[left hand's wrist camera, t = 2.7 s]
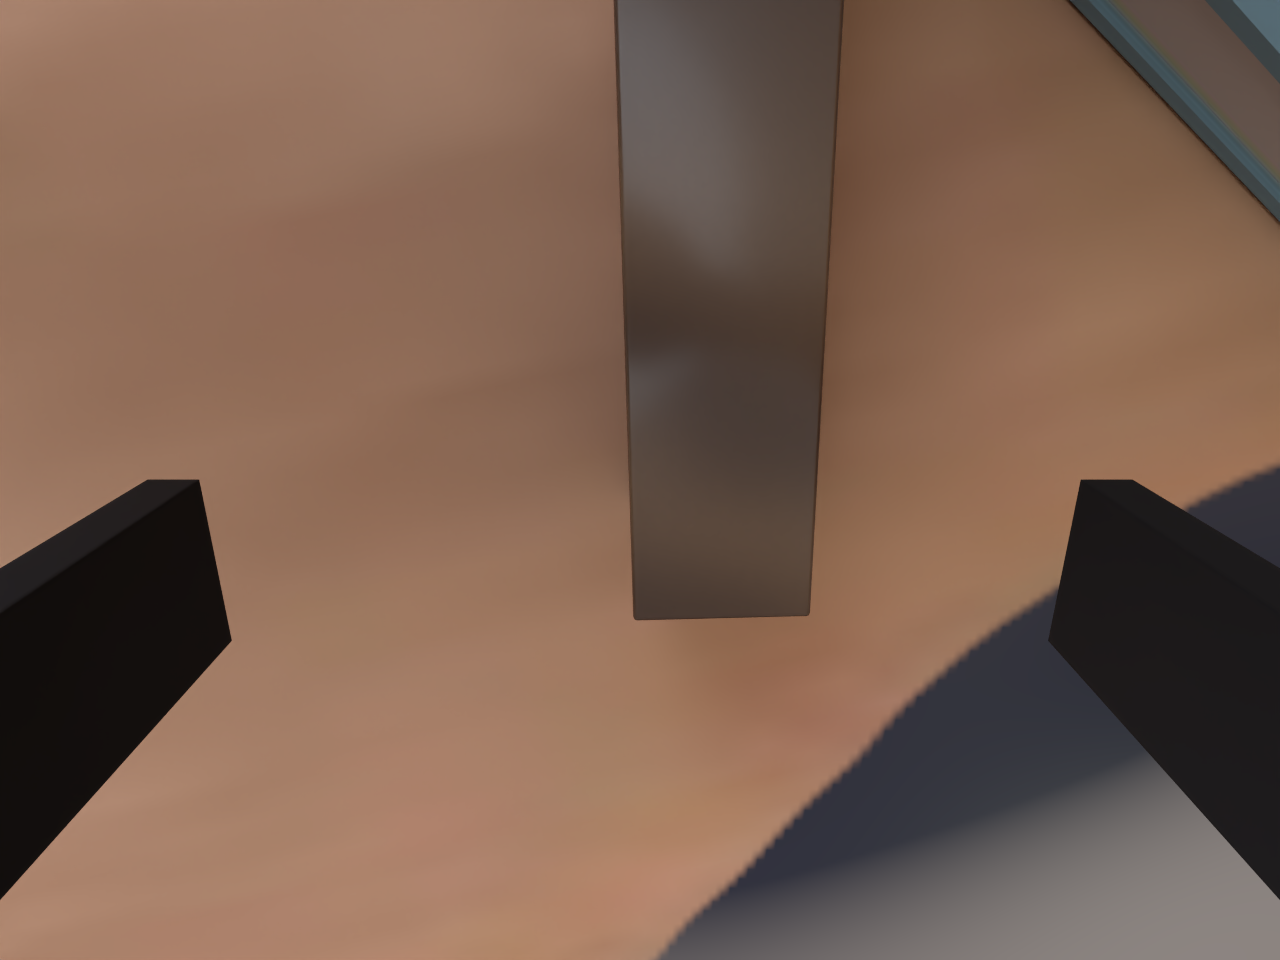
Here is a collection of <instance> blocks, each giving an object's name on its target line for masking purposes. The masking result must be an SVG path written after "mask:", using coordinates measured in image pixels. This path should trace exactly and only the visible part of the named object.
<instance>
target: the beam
mask: <svg viewBox="0 0 1280 960" xmlns="http://www.w3.org/2000/svg"><path fill="white" fill-rule="evenodd" d="M843 7H844V0H614V24H615V55H616V87H617V118H618V149H619V181H620V212H621V243H622V275H623V306H624V337H625V369H626V400H627V431H628V463H629V494H630V525H631V557H632V588H633V617H634V619H635V620H666V619H704V618H743V617H781V616H807V615H809V613H810V600H811V582H812V564H813V546H814V528H815V510H816V492H817V474H818V456H819V438H820V420H821V402H822V384H823V366H824V348H825V330H826V312H827V294H828V276H829V258H830V240H831V222H832V204H833V186H834V168H835V150H836V132H837V114H838V96H839V78H840V60H841V42H842V24H843Z"/></svg>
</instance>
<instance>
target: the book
mask: <svg viewBox="0 0 1280 960" xmlns="http://www.w3.org/2000/svg"><path fill="white" fill-rule="evenodd" d="M1070 1H1071V2H1072V3H1073V4H1074V5H1075V6H1076V7H1077V8H1078V9H1079V10H1080V11H1081V12H1082V13H1083V15H1084V16H1085V17H1086V18H1087V19H1088V20H1089V21H1090V22H1091V23H1092V24H1093V25H1094V26H1095V27H1096V28H1097V29H1098V30H1099V31H1100V32H1101V34H1102V35H1103V36H1104V37H1105V38H1106V39H1107V40H1108V41H1109V42H1110V43H1111V44H1112V45H1113V46H1114V47H1115V48H1116V49H1117V50H1118V51H1119V53H1120V54H1121V55H1122V56H1123V57H1124V58H1125V59H1126V60H1127V61H1128V62H1129V63H1130V64H1131V65H1132V66H1133V67H1134V68H1135V69H1136V70H1137V72H1138V73H1139V74H1140V75H1141V76H1142V77H1143V78H1144V79H1145V80H1146V81H1147V82H1148V83H1149V84H1150V85H1151V86H1152V87H1153V88H1154V89H1155V91H1156V92H1157V93H1158V94H1159V95H1160V96H1161V97H1162V98H1163V99H1164V100H1165V101H1166V102H1167V103H1168V104H1169V105H1170V106H1171V107H1172V108H1173V110H1174V111H1175V112H1176V113H1177V114H1178V115H1179V116H1180V117H1181V118H1182V119H1183V120H1184V121H1185V122H1186V123H1187V124H1188V125H1189V126H1190V127H1191V128H1192V130H1193V131H1194V132H1195V133H1196V134H1197V135H1198V136H1199V137H1200V138H1201V139H1202V140H1203V141H1204V142H1205V143H1206V144H1207V145H1208V146H1209V147H1210V149H1211V150H1212V151H1213V152H1214V153H1215V154H1216V155H1217V156H1218V157H1219V158H1220V159H1221V160H1222V161H1223V162H1224V163H1225V164H1226V165H1227V166H1228V168H1229V169H1230V170H1231V171H1232V172H1233V173H1234V174H1235V175H1236V176H1237V177H1238V178H1239V179H1240V180H1241V181H1242V182H1243V183H1244V184H1245V185H1246V187H1247V188H1248V189H1249V190H1250V191H1251V192H1252V193H1253V194H1254V195H1255V196H1256V197H1257V198H1258V199H1259V200H1260V201H1261V202H1262V203H1263V204H1264V206H1265V207H1266V208H1267V209H1268V210H1269V211H1270V212H1271V213H1272V214H1273V215H1274V216H1275V217H1276V218H1277V219H1278V220H1279V221H1280V0H1070Z"/></svg>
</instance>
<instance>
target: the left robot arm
mask: <svg viewBox="0 0 1280 960" xmlns="http://www.w3.org/2000/svg"><path fill="white" fill-rule="evenodd" d="M231 641H232V640H231V635H230V630H229V625H228V620H227V615H226V610H225V605H224V600H223V595H222V590H221V585H220V580H219V575H218V570H217V566H216V561H215V556H214V551H213V546H212V541H211V536H210V531H209V526H208V521H207V516H206V511H205V506H204V501H203V496H202V491H201V487H200V482H199V480H146V481H145V482H143V483H141V484H140V485H138V486H136V487H135V488H133V489H131V490H130V491H128V492H126V493H125V494H123V495H121V496H120V497H118V498H116V499H115V500H113V501H111V502H110V503H108V504H106V505H105V506H103V507H101V508H100V509H98V510H96V511H95V512H93V513H91V514H90V515H88V516H86V517H85V518H83V519H81V520H80V521H78V522H76V523H75V524H73V525H71V526H70V527H68V528H66V529H65V530H63V531H61V532H60V533H58V534H57V535H55V536H53V537H52V538H50V539H48V540H47V541H45V542H43V543H42V544H40V545H38V546H37V547H35V548H33V549H32V550H30V551H28V552H27V553H25V554H23V555H22V556H20V557H18V558H17V559H15V560H13V561H12V562H10V563H8V564H7V565H5V566H3V567H2V568H0V899H1V898H2V897H3V896H4V895H5V894H6V893H7V892H8V891H9V889H10V888H11V887H12V886H13V885H14V884H15V883H16V882H17V880H18V879H19V878H20V877H21V876H22V875H23V874H24V873H25V871H26V870H27V869H28V868H29V867H30V866H31V865H32V864H33V863H34V861H35V860H36V859H37V858H38V857H39V856H40V855H41V854H42V852H43V851H44V850H45V849H46V848H47V847H48V846H49V845H50V843H51V842H52V841H53V840H54V839H55V838H56V837H57V836H58V835H59V833H60V832H61V831H62V830H63V829H64V828H65V827H66V826H67V824H68V823H69V822H70V821H71V820H72V819H73V818H74V817H75V816H76V814H77V813H78V812H79V811H80V810H81V809H82V808H83V807H84V805H85V804H86V803H87V802H88V801H89V800H90V799H91V798H92V796H93V795H94V794H95V793H96V792H97V791H98V790H99V789H100V788H101V786H102V785H103V784H104V783H105V782H106V781H107V780H108V779H109V777H110V776H111V775H112V774H113V773H114V772H115V771H116V770H117V768H118V767H119V766H120V765H121V764H122V763H123V762H124V761H125V760H126V758H127V757H128V756H129V755H130V754H131V753H132V752H133V751H134V749H135V748H136V747H137V746H138V745H139V744H140V743H141V742H142V740H143V739H144V738H145V737H146V736H147V735H148V734H149V733H150V732H151V730H152V729H153V728H154V727H155V726H156V725H157V724H158V723H159V721H160V720H161V719H162V718H163V717H164V716H165V715H166V714H167V713H168V711H169V710H170V709H171V708H172V707H173V706H174V705H175V704H176V702H177V701H178V700H179V699H180V698H181V697H182V696H183V695H184V693H185V692H186V691H187V690H188V689H189V688H190V687H191V686H192V685H193V683H194V682H195V681H196V680H197V679H198V678H199V677H200V676H201V674H202V673H203V672H204V671H205V670H206V669H207V668H208V667H209V665H210V664H211V663H212V662H213V661H214V660H215V659H216V658H217V657H218V655H219V654H220V653H221V652H222V651H223V650H224V649H225V648H226V646H227V645H228V644H229V643H230V642H231ZM1048 641H1049V642H1050V643H1051V644H1052V645H1053V646H1054V648H1055V649H1056V650H1057V651H1058V652H1059V653H1060V654H1061V655H1062V656H1063V658H1064V659H1065V660H1066V661H1067V662H1068V663H1069V664H1070V665H1071V667H1072V668H1073V669H1074V670H1075V671H1076V672H1077V673H1078V674H1079V676H1080V677H1081V678H1082V679H1083V680H1084V681H1085V682H1086V683H1087V685H1088V686H1089V687H1090V688H1091V689H1092V690H1093V691H1094V692H1095V693H1096V695H1097V696H1098V697H1099V698H1100V699H1101V700H1102V701H1103V702H1104V704H1105V705H1106V706H1107V707H1108V708H1109V709H1110V710H1111V711H1112V713H1113V714H1114V715H1115V716H1116V717H1117V718H1118V719H1119V720H1120V721H1121V723H1122V724H1123V725H1124V726H1125V727H1126V728H1127V729H1128V730H1129V732H1130V733H1131V734H1132V735H1133V736H1134V737H1135V738H1136V739H1137V740H1138V742H1139V743H1140V744H1141V745H1142V746H1143V747H1144V748H1145V749H1146V751H1147V752H1148V753H1149V754H1150V755H1151V756H1152V757H1153V758H1154V760H1155V761H1156V762H1157V763H1158V764H1159V765H1160V766H1161V767H1162V768H1163V770H1164V771H1165V772H1166V773H1167V774H1168V775H1169V776H1170V777H1171V779H1172V780H1173V781H1174V782H1175V783H1176V784H1177V785H1178V786H1179V787H1180V789H1181V790H1182V791H1183V792H1184V793H1185V794H1186V795H1187V796H1188V798H1189V799H1190V800H1191V801H1192V802H1193V803H1194V804H1195V805H1196V807H1197V808H1198V809H1199V810H1200V811H1201V812H1202V813H1203V814H1204V816H1205V817H1206V818H1207V819H1208V820H1209V821H1210V822H1211V823H1212V824H1213V826H1214V827H1215V828H1216V829H1217V830H1218V831H1219V832H1220V833H1221V835H1222V836H1223V837H1224V838H1225V839H1226V840H1227V841H1228V842H1229V843H1230V845H1231V846H1232V847H1233V848H1234V849H1235V850H1236V851H1237V852H1238V854H1239V855H1240V856H1241V857H1242V858H1243V859H1244V860H1245V861H1246V862H1247V864H1248V865H1249V866H1250V867H1251V868H1252V869H1253V870H1254V871H1255V873H1256V874H1257V875H1258V876H1259V877H1260V878H1261V879H1262V880H1263V882H1264V883H1265V884H1266V885H1267V886H1268V887H1269V888H1270V889H1271V890H1272V892H1273V893H1274V894H1275V895H1276V896H1277V897H1278V898H1279V899H1280V568H1278V567H1277V566H1275V565H1273V564H1272V563H1270V562H1268V561H1267V560H1265V559H1263V558H1262V557H1260V556H1258V555H1257V554H1255V553H1253V552H1252V551H1250V550H1248V549H1247V548H1245V547H1243V546H1242V545H1240V544H1238V543H1237V542H1235V541H1233V540H1232V539H1230V538H1228V537H1227V536H1225V535H1223V534H1222V533H1220V532H1219V531H1217V530H1215V529H1213V528H1212V527H1210V526H1209V525H1207V524H1205V523H1204V522H1202V521H1200V520H1199V519H1197V518H1195V517H1194V516H1192V515H1190V514H1189V513H1187V512H1185V511H1184V510H1182V509H1180V508H1179V507H1177V506H1175V505H1174V504H1172V503H1170V502H1169V501H1167V500H1165V499H1164V498H1162V497H1160V496H1159V495H1157V494H1155V493H1154V492H1152V491H1150V490H1149V489H1147V488H1145V487H1144V486H1142V485H1140V484H1139V483H1137V482H1135V481H1134V480H1081V482H1080V487H1079V492H1078V496H1077V501H1076V506H1075V511H1074V516H1073V521H1072V526H1071V531H1070V536H1069V541H1068V546H1067V551H1066V556H1065V561H1064V566H1063V570H1062V575H1061V580H1060V585H1059V590H1058V595H1057V600H1056V605H1055V610H1054V615H1053V620H1052V625H1051V630H1050V635H1049V640H1048Z"/></svg>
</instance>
